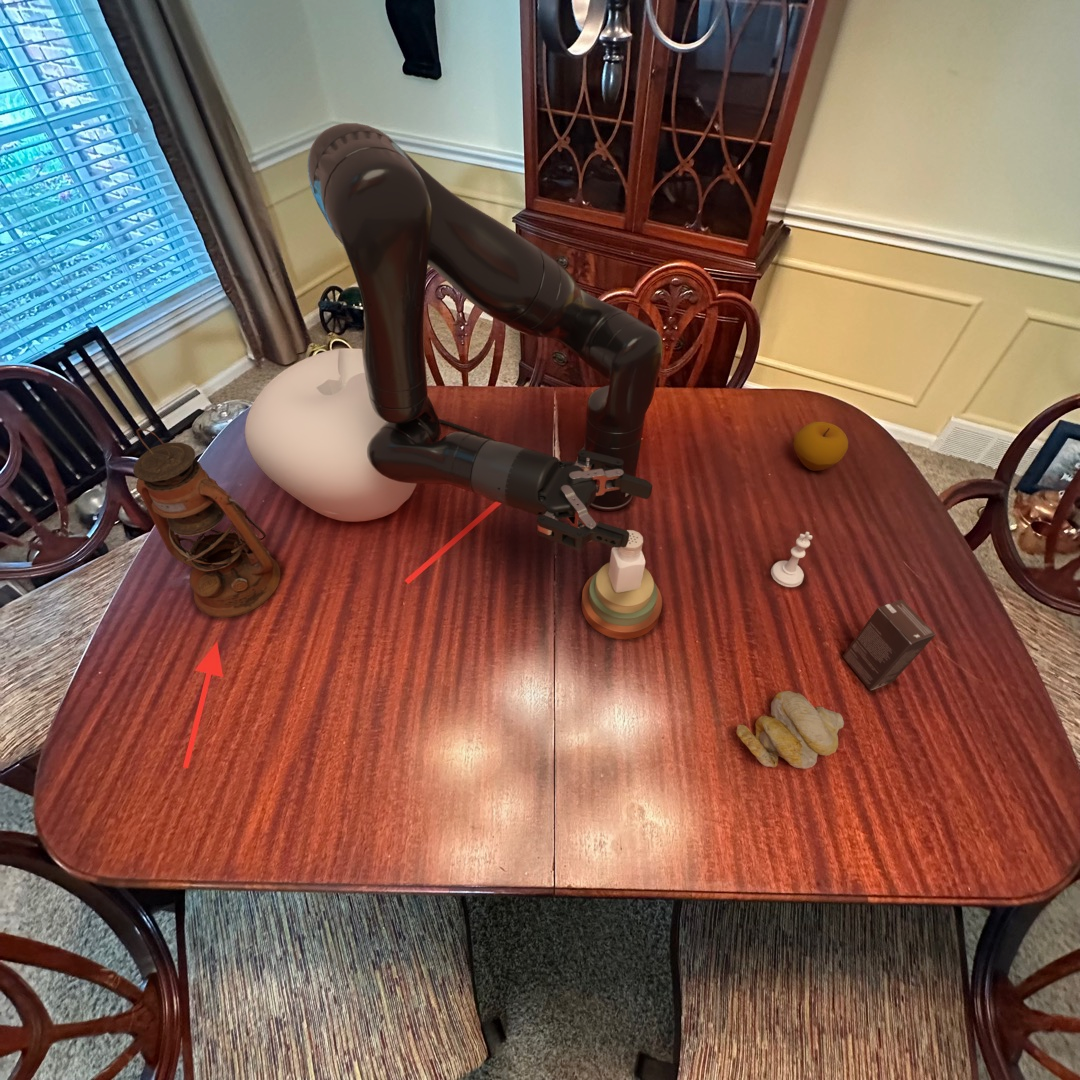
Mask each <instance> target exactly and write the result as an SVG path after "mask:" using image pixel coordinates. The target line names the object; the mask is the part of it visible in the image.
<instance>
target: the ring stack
mask: <svg viewBox="0 0 1080 1080" xmlns="http://www.w3.org/2000/svg"><path fill="white" fill-rule="evenodd" d="M609 565H610V561H609V562H607V563H605V564H604V565H602V566H601V567H600V569H599V570H598V571H597V572H595V573H594V574H593V575H591V576H590V577H589V579H587V580H586V582H585V584H584V586H583V588H582V592H581V593H582V594H581V602H580V605H581V611H582V614H583V617H584V619H585V621H586V622H587V623H588V624H589V625H590V626H591V628H593V629H594V630H595V631H597V632H598V633H600V634H601V635H603V636H606V637H608V638H610V639H611V638H612V639H616V640H633V639H637V638H639V637H642V636H644V635H646V634H648V633H649V632H650V631H651V630H652V629H654V628H655V626H656V625H657V623H658V621H659V620H660V616H661V614H662V613H661V612H662V609H663V598H662V593H661V591H660V589H659V587H658V586H657V584H656V582H655V580H654V578H653V576H652V574H651V573H650V571H649V569H647V568H646V567H644V572H643V577H642V582H641V586H640V588H639V589H637V590H631V591H626V592H620V593H617V592H615V591H614V589H613V586H612V583H611V580H610V578H609V575H608V572H609Z"/></svg>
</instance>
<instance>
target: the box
mask: <svg viewBox="0 0 1080 1080" xmlns="http://www.w3.org/2000/svg"><path fill="white" fill-rule="evenodd" d="M936 635H937V634H936V632H935V631H934V630H933V629H931V627H930V626H929V625H928V624H927V623H926V622H925V621H924V620H923V619H922V618H921V617H920V616H919V615H918V614H917V613H916V612H915V610H914V609H912V607H911V606H910V605H909V604H908V603H907V602H906V601H905V600H904V599H899V600H896V601H893V602H890V603H887V604H884V605H880V606H877V608H876V609H875V611H874V612H873V613H872V615H871V616H870V618H868V620H867V622H866V623H865V624H864V626H863V627H862V629H861V630H860V631H859V633H858V634H857V635H856V637H855V638H854V640H853V641H852V642H851V643H850V645H849V647H848V648H847V649H846V651H844V653H843V655H842V658H843V659H844V661H845V662H846V663H847V664H848V666H849V667H850V668H851V669H852V671H853V672H854V673H855V674H856V675H857V677H858V678H859V679H860V681H861V682H862V683H863V684H864V686H865V687H866V688H867V689H868V690H869V691H874V690H876V689H878V688H882V687H884V686H887V685H889V684H891V683H894V682H895V680H897V678H898V677H899V676H900V675H901V674H902V673H903V672H904V671H905V670H906V669H907V667H909V665H910V664H911V663H912V662H913V661H914V660H915V659H916V658H917V656H918V655H919V654H920V653H921V652H922V651H923V650H924V648H926V646H927V645H928V644H929V643H930V642H931V641H932V640H933V639H934V638H935V637H936Z"/></svg>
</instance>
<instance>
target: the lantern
mask: <svg viewBox="0 0 1080 1080" xmlns="http://www.w3.org/2000/svg"><path fill="white" fill-rule="evenodd" d="M140 431H144V432H147V433H149V434H151V435H153V436H155V437H156V438H157V440H159V442H160V443H161V444H158V445H156V446H153V447H151V448H149V446H148V445H147V444H146V442H145V440H143V439H142V437H141V434H140ZM136 434H137V436H138V438H139V440H140V442H141V443H142V444H143V445H144V447H145V448H146V449H147V451H146V452H144V453H143V454H142V455H140V457H138V458H137V460H136V461H135V463H134V465H133V470H132V473H133V474H134V477H136V478H137V481H136V484H135V485H136V487H135V489H136V491H137V493H138V494H139V495H140V497H141V499H142V501H143V503H144V505H145V508H146V509H147V511H148V513H149V516H150V518H151V519H152V521H153V524H154V526H155V528H156V530H157V532H158V533H159V535H160V537H161V540H162V541H163V544H164V545H165V547H166V549H167V551H168V552H169V553H170V555H172V556H173V558H175V559H176V560H177V561H179V562H180V563H183V564H185V565H187V566H189V567H191V570H190V573H189V585H190V587H191V590H192V591H193V600H194V604H195V607H197V608H198V609H199V610H200V612H202V613H204V614H206V615H207V616H210V617H214V618H220V619H221V618H233V617H238V616H241V615H244V614H247V613H250V612H252V611H254V610H256V609H257V608H259V607H260V606H262V605H263V604H265V602H267V601H268V599H270V597H272V595H273V594H274V593H275V591H276V590H277V589H278V586H279V583H280V581H281V568H280V565H279V563H278V562H277V561H276V559H274V558H273V557H272V555H271V553H270V551H269V550H268V549H267V548H266V546H265V545H264V543H263V542H262V540H264V539H266V537H267V535H266V532H265V531H264V530H263V529H262V528H261V527H260V526H259V525H258V524H257V523H255V521H254V520H253V519H251V517H250V516H249V515H248V514H247V510H246V509H245V508H244V507H243V506H242V505H241V504H240V503H239V502H238V501H237V500H235V499H234V498H232V496H231V494H229V493H228V492H227V491H226V490H225V489H224V488H222V486H219V484H218V482H217V481H216V480H215V479H213V478H211V477H210V476H209V474H208V473H207V472H206V470H205V469H203V467H202V465H201V464H200V462H199V461H198V460H196V459H195V457H196V452H195V451H196V450H195V449H194V448H193V447H192V446H191V445H190V444H187V443H183V442H181V441H179V442H163V440H162V439H161V438H160V437H159V436H158V435H156V433H154V432H153V431H151V430H149V429H147V428H145V427H144V428H142V427H141V428H138V429H136ZM225 516H226V517H227V519H228V520H229V522H230V525H229V527H228V528H227V530H226V531H220V530H216V529H214V528H215V527H217V526H218V525H219V524H220V522H222V520H223V519H224V518H225ZM251 525H252V526H253V527H254V528H255V529H257V531H259V532H260V533H261V535H262V537H259V536H258V534H257V533H256V531H255V530H254V529H253V527H252V526H251ZM233 528H235V530H234V531H232V529H233ZM209 531H210V532H213V533H211V534H208V535H206V534H207V532H209ZM198 535H199V536H198ZM180 536H181V537H180ZM193 536H197V539H196V540H193V539H191V538H186V537H193ZM181 541H186V542H189V543H192V544H193V545H192V546H191V547H190V548H189V550H187V549H185V548H184V546H183V545H182V543H181ZM229 556H230V557H229ZM224 558H226V559H224ZM223 559H224V560H223Z"/></svg>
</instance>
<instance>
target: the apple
mask: <svg viewBox="0 0 1080 1080" xmlns="http://www.w3.org/2000/svg"><path fill="white" fill-rule="evenodd" d="M792 446H793V449H794V453H795V455H796V456H797V458H798V459H799V461H800V463H801V464H802V465H803V466H804V467H805V468H807V469H808V470H809V471H813V472H815V471H816V472H817V471H819V472H820V471H824V470H826V469H829V468H832V467H833V466H834V465H837V464H838V463H839V462H840V461H842V460H843V459H844V456H845V454H846V453H847V451H848V449H849V439H848V437H847V435H846V433H845V432H844V431H843V429H841V428H840V427H839V426H837V425H836V424H833V423H831V422H828V421H827V422H826V421H817V420H816V421H812V422H810V423H808V424H805V425H804V426H803V427H802V428H801V429H799V430H798V431H797V432H796V434H795V435H794V437H793V445H792Z"/></svg>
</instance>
